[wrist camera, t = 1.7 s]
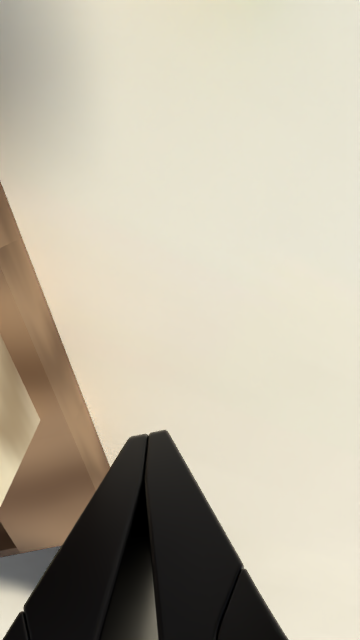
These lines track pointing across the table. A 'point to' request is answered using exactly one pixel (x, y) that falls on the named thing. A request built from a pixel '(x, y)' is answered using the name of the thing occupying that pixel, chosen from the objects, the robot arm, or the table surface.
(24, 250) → the board
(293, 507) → the table surface
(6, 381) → the block
